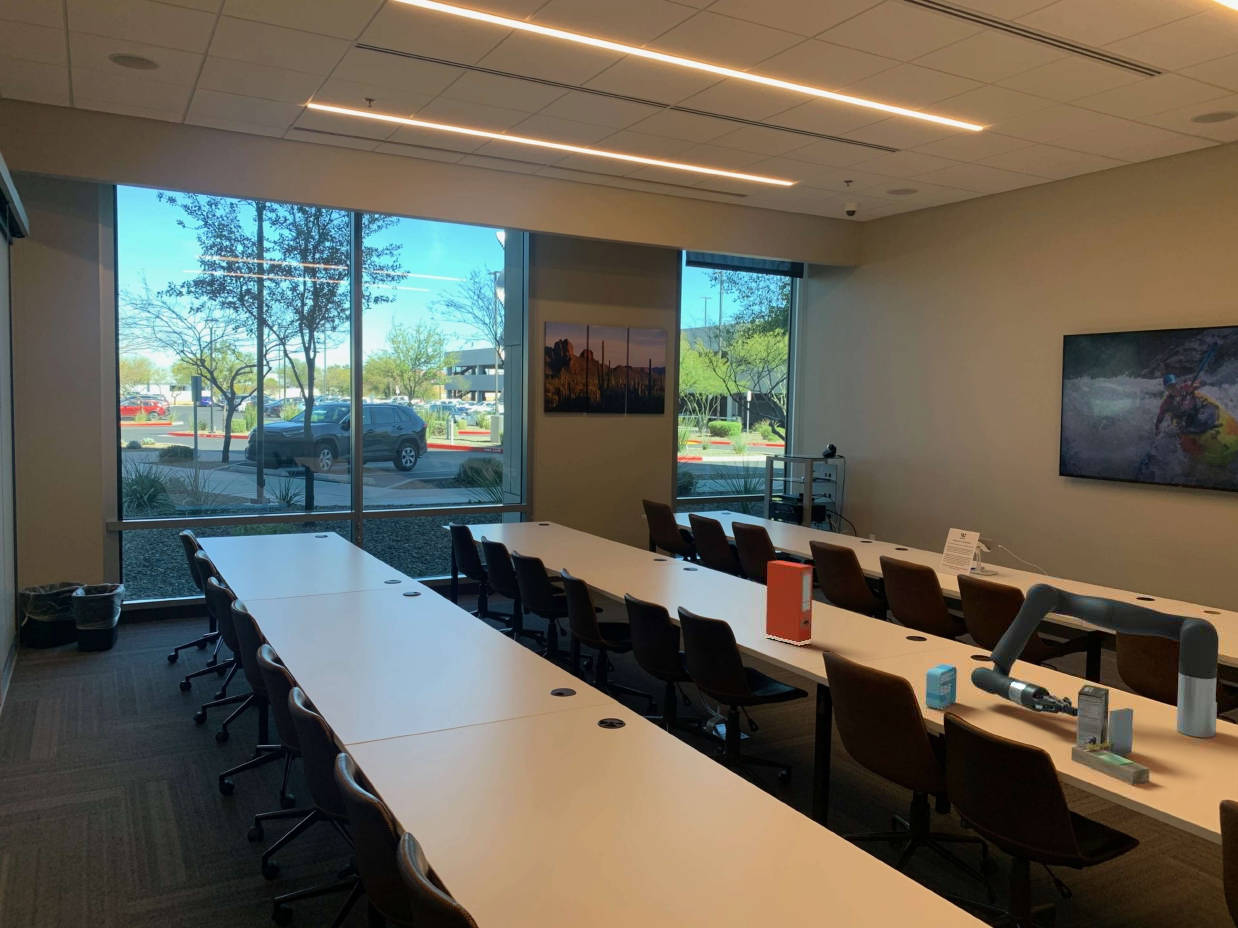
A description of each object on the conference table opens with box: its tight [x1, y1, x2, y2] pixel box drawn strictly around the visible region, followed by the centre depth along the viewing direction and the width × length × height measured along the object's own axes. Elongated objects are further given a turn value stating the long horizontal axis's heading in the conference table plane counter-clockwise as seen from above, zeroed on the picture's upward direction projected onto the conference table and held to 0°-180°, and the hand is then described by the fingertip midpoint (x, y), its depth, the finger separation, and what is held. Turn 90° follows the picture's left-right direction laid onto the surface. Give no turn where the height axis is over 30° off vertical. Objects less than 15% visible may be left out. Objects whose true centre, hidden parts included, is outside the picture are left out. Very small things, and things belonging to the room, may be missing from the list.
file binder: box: [765, 560, 814, 642], centre depth 364 cm, size 8×17×32 cm, turn 39°
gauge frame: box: [1071, 744, 1150, 786], centre depth 232 cm, size 6×18×4 cm, turn 22°
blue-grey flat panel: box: [1087, 707, 1134, 757], centre depth 239 cm, size 16×2×12 cm, turn 112°
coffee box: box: [1076, 684, 1110, 750], centre depth 249 cm, size 9×6×16 cm
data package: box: [925, 663, 958, 710], centre depth 284 cm, size 12×4×12 cm, turn 134°
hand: (1077, 712), depth 254 cm, fingers closed
